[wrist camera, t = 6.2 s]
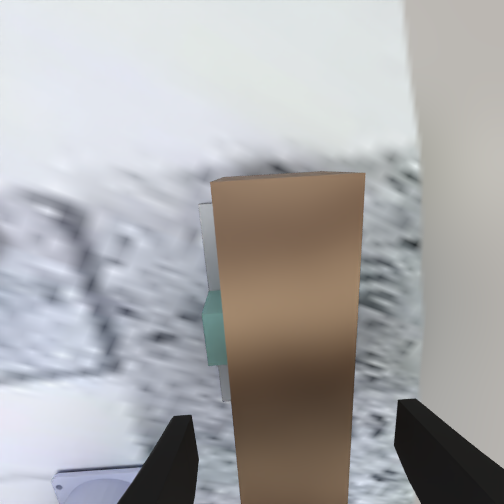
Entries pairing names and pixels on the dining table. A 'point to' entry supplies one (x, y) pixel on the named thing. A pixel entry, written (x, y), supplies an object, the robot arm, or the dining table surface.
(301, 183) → the walnut bar
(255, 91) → the dining table surface
